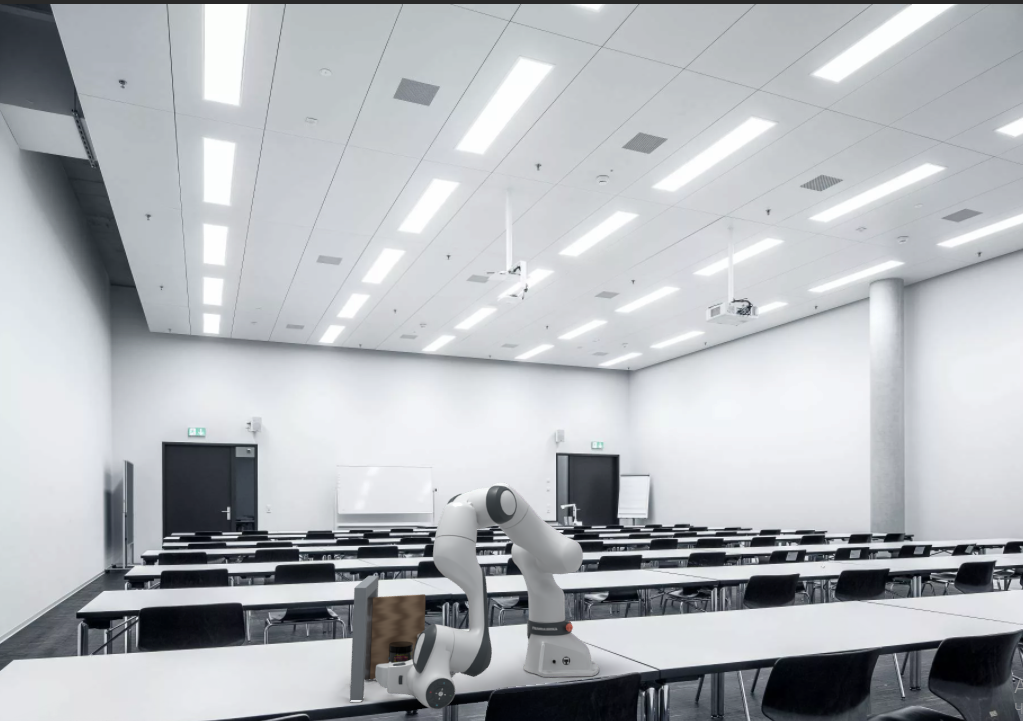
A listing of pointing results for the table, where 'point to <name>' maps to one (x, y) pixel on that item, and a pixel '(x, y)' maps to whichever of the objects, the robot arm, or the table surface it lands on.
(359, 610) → the door frame
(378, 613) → the door
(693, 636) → the table surface
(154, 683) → the table surface
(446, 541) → the robot arm
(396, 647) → the supplement container
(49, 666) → the table surface
